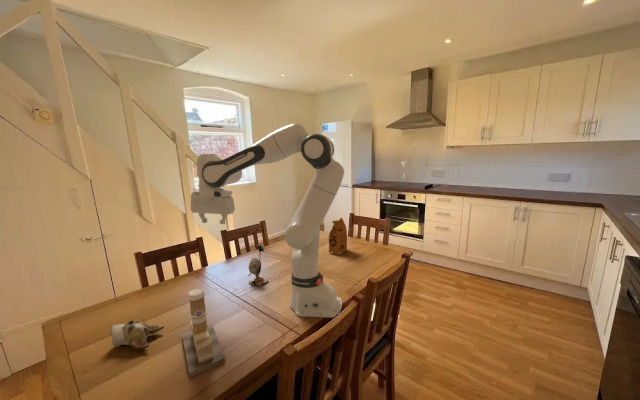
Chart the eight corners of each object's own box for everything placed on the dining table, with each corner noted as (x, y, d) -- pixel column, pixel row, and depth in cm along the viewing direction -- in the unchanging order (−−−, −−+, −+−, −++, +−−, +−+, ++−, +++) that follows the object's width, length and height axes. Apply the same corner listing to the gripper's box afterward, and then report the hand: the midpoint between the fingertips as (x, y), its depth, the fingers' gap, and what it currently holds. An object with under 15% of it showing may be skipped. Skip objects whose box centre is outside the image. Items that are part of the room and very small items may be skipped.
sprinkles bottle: (195, 335, 81) (190, 297, 78) (190, 329, 84) (186, 291, 82) (209, 329, 84) (205, 291, 81) (205, 322, 87) (201, 286, 85)
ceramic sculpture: (121, 311, 92) (164, 311, 93) (123, 333, 94) (165, 332, 95) (97, 332, 82) (146, 331, 83) (100, 355, 83) (148, 355, 84)
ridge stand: (182, 338, 91) (179, 319, 89) (212, 327, 96) (210, 309, 95) (189, 377, 74) (186, 355, 73) (225, 361, 79) (223, 340, 78)
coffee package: (326, 252, 168) (325, 220, 164) (337, 247, 177) (336, 216, 174) (338, 255, 162) (338, 222, 158) (349, 250, 171) (349, 218, 167)
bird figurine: (257, 275, 137) (255, 240, 133) (270, 282, 129) (268, 245, 126) (244, 281, 131) (241, 244, 128) (256, 288, 123) (254, 249, 120)
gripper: (185, 192, 108) (188, 223, 111) (226, 193, 102) (229, 226, 105) (196, 190, 114) (199, 220, 117) (235, 191, 108) (238, 222, 111)
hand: (213, 223), depth 111 cm, fingers open, 8 cm apart
